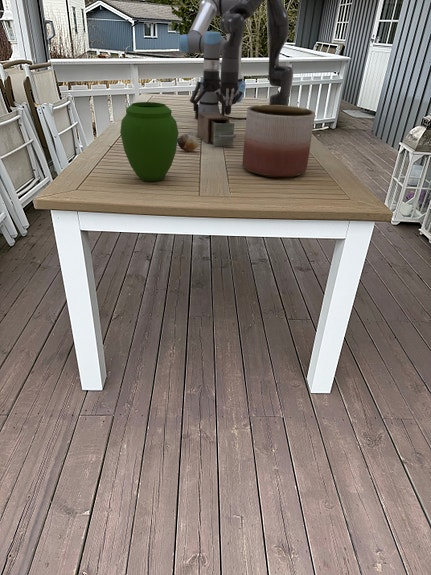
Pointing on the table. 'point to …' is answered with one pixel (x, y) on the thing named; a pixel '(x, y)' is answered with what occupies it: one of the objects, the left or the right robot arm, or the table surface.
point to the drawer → (221, 132)
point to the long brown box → (207, 123)
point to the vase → (149, 139)
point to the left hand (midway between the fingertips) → (209, 118)
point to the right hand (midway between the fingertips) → (227, 114)
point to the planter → (277, 140)
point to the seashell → (188, 142)
